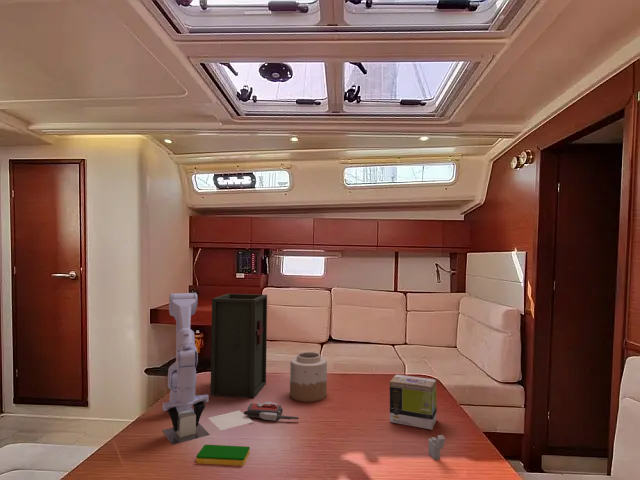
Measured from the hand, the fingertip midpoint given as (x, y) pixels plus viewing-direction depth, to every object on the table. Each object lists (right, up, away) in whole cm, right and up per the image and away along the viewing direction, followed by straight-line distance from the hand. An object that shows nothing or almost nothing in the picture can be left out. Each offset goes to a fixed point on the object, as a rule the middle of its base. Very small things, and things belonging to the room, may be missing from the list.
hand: (185, 427), depth 133 cm
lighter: (+78, -3, -14) cm, 80 cm away
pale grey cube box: (0, -2, 0) cm, 2 cm away
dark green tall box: (+9, -3, +42) cm, 43 cm away
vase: (+39, -3, +36) cm, 54 cm away
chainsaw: (+27, -3, +14) cm, 30 cm away
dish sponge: (+16, -3, -15) cm, 22 cm away
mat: (+12, -2, +10) cm, 16 cm away
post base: (0, -2, 0) cm, 2 cm away
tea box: (+77, -3, +12) cm, 78 cm away
